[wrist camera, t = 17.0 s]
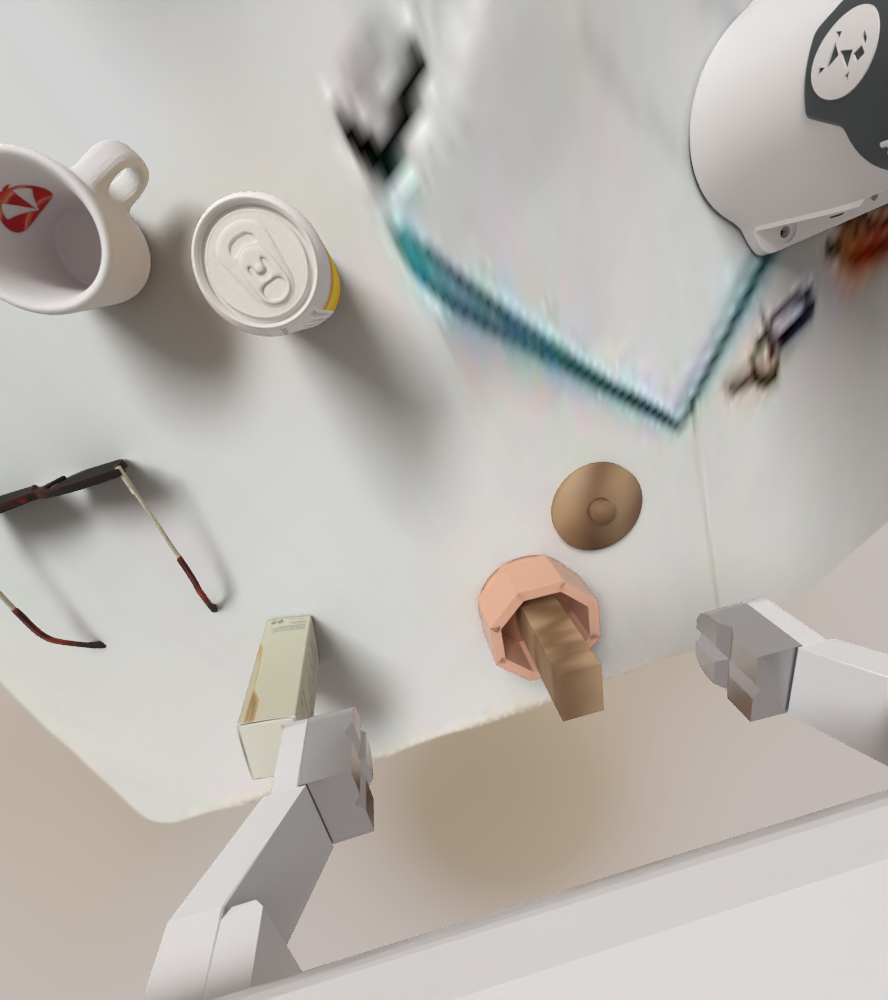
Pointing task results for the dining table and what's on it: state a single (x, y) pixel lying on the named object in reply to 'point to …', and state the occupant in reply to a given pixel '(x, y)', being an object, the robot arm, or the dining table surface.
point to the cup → (71, 229)
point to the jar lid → (596, 505)
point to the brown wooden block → (561, 657)
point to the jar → (527, 583)
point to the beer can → (263, 265)
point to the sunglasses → (75, 484)
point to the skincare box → (278, 691)
